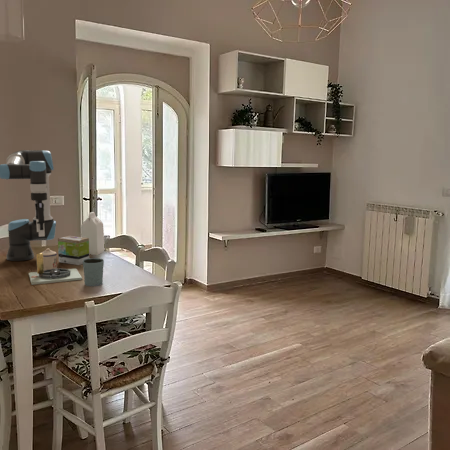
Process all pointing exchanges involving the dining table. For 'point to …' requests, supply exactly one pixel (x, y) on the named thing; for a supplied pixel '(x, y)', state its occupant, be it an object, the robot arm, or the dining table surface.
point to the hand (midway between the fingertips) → (40, 234)
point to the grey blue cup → (93, 271)
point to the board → (39, 280)
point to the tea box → (73, 249)
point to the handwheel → (53, 272)
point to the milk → (93, 234)
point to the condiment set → (49, 259)
